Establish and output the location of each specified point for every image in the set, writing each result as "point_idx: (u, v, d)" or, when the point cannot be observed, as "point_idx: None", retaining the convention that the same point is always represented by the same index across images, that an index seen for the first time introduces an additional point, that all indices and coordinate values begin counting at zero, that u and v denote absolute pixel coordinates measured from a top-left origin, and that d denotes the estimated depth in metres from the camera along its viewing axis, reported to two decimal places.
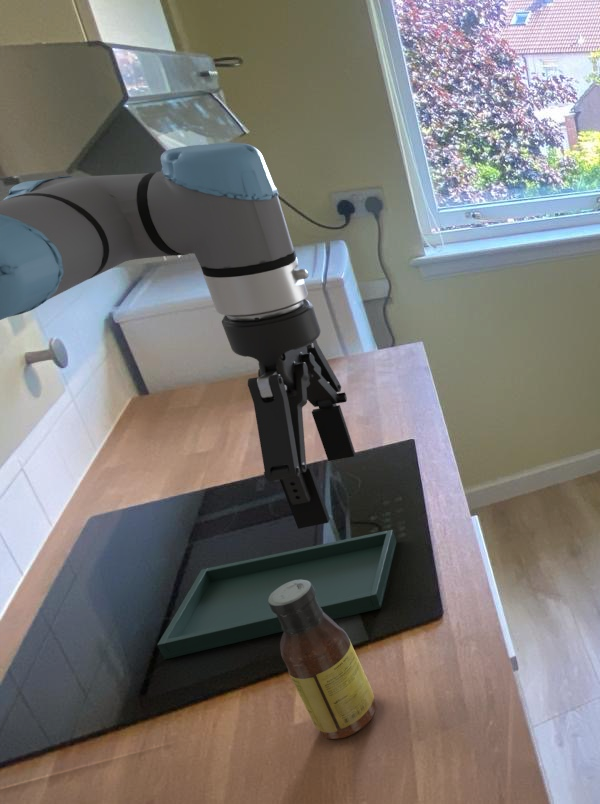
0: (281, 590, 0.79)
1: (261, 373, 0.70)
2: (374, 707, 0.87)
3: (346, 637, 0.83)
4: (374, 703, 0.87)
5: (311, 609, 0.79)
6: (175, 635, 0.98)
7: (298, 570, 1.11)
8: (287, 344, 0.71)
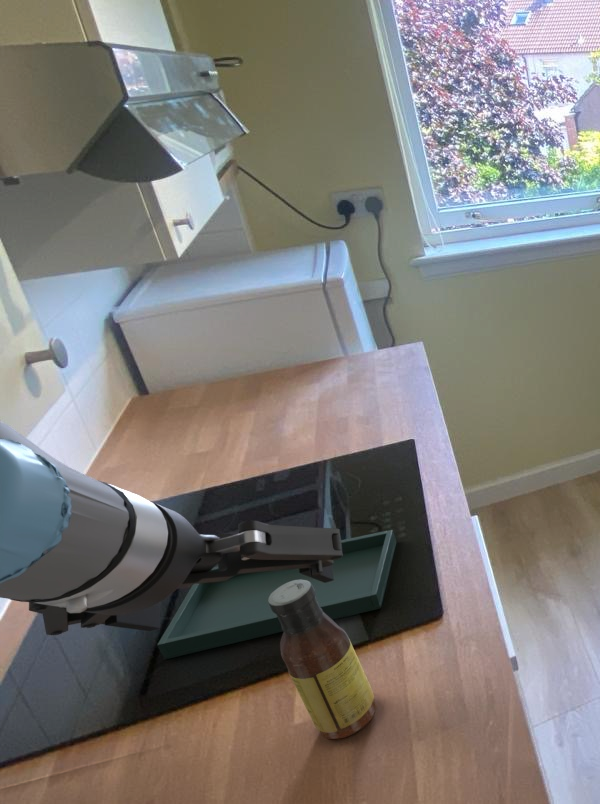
0: (281, 590, 0.79)
1: None
2: (374, 707, 0.87)
3: (346, 637, 0.83)
4: (374, 703, 0.87)
5: (311, 609, 0.79)
6: (175, 635, 0.98)
7: (298, 570, 1.11)
8: None
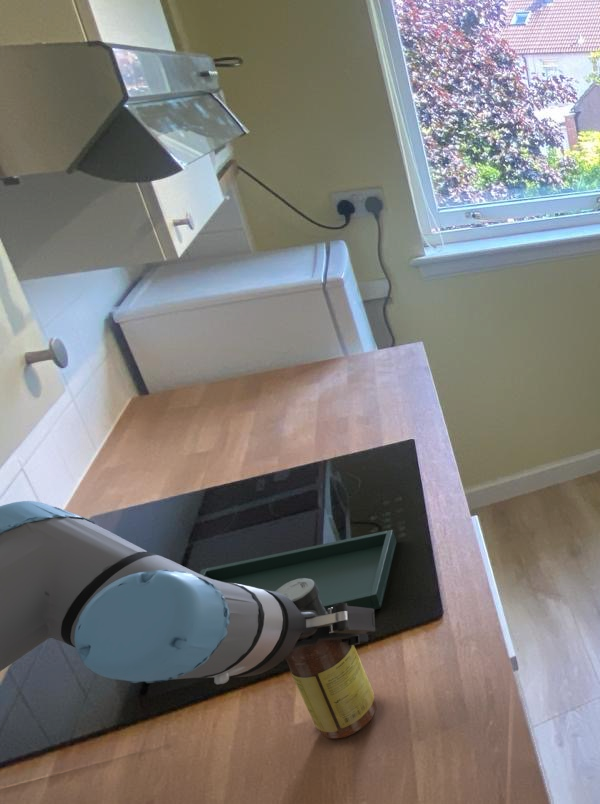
0: (285, 588, 0.79)
1: None
2: (374, 707, 0.87)
3: None
4: (374, 703, 0.87)
5: (315, 608, 0.79)
6: None
7: (298, 570, 1.11)
8: None
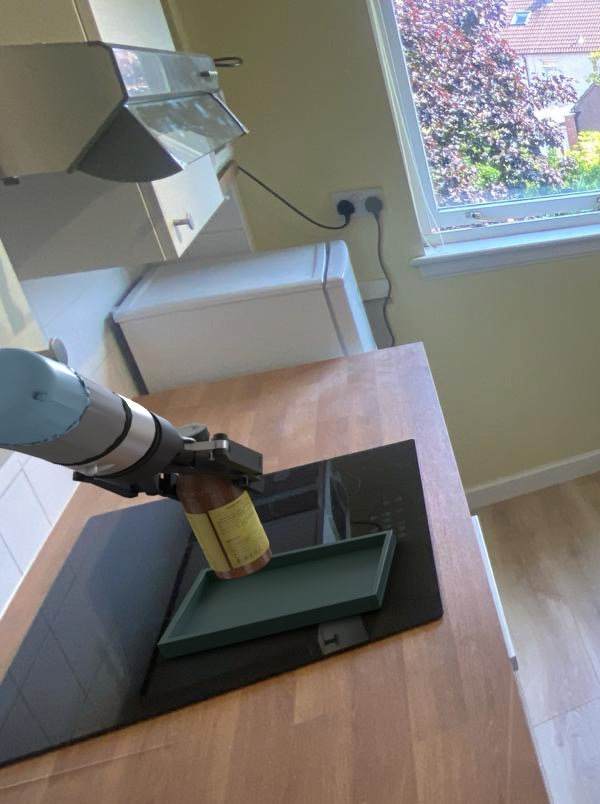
0: (177, 430, 0.85)
1: None
2: (269, 555, 0.93)
3: None
4: (269, 552, 0.94)
5: None
6: (175, 635, 0.98)
7: (298, 570, 1.11)
8: None
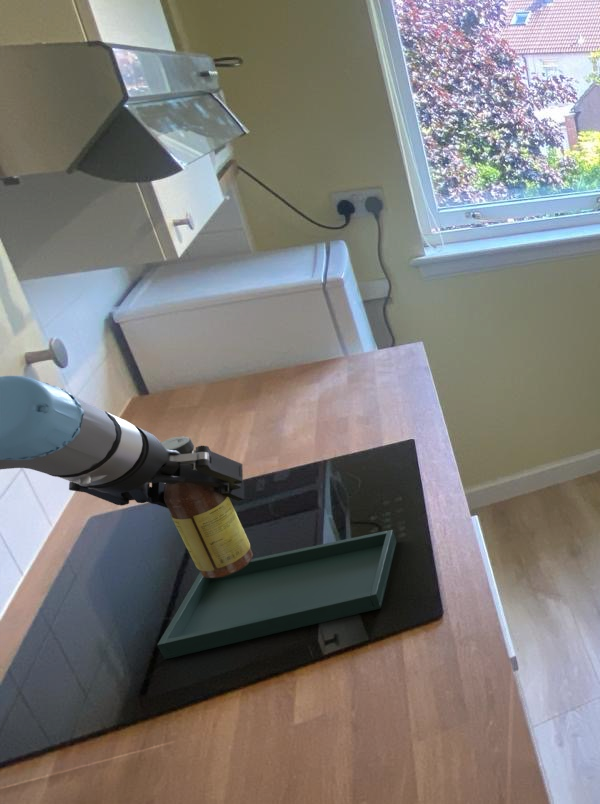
0: (164, 443, 0.94)
1: None
2: (250, 556, 1.02)
3: None
4: (250, 553, 1.02)
5: None
6: (175, 635, 0.98)
7: (298, 570, 1.11)
8: None
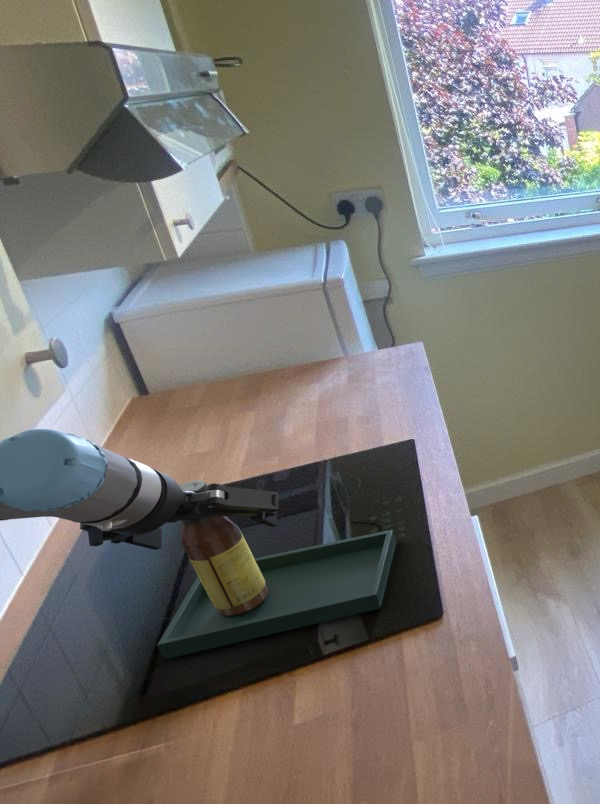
0: (180, 487, 0.96)
1: None
2: (265, 593, 1.05)
3: (238, 531, 1.01)
4: (265, 590, 1.05)
5: None
6: (175, 635, 0.98)
7: (298, 570, 1.11)
8: None
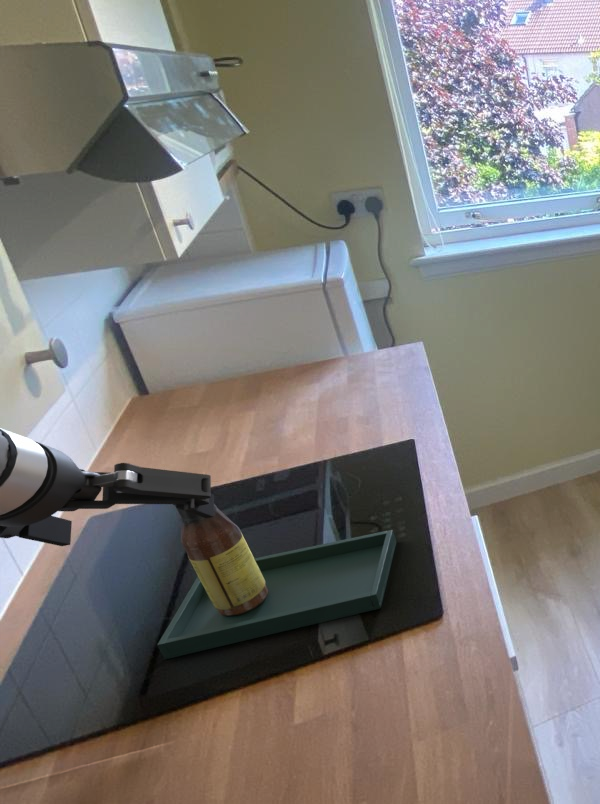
0: None
1: None
2: (265, 593, 1.05)
3: (238, 531, 1.01)
4: (265, 590, 1.05)
5: None
6: (175, 635, 0.98)
7: (298, 570, 1.11)
8: None
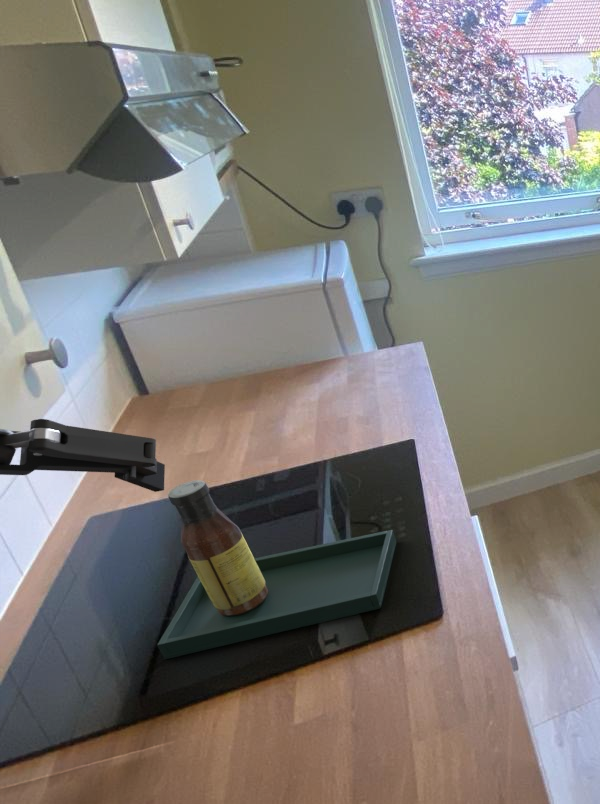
0: (180, 487, 0.96)
1: None
2: (265, 593, 1.05)
3: (238, 531, 1.01)
4: (265, 590, 1.05)
5: (205, 503, 0.97)
6: (175, 635, 0.98)
7: (298, 570, 1.11)
8: None
